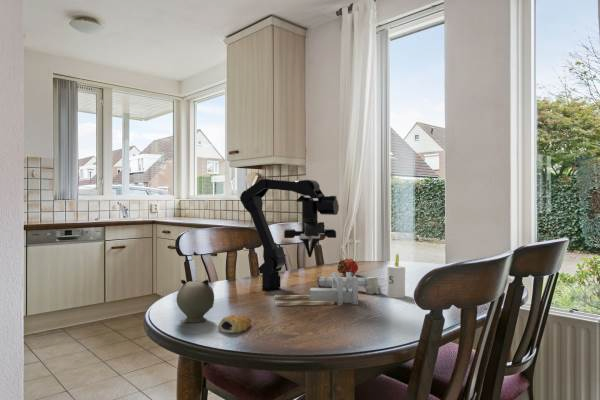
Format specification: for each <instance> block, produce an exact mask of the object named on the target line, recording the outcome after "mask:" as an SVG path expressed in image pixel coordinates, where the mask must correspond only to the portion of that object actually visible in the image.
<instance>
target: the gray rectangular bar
mask: <svg viewBox="0 0 600 400" xmlns="http://www.w3.org/2000/svg"><path fill="white" fill-rule="evenodd" d="M309 295H310V298H309V301H334V303H337V288H332V287H328V288H327V287H310V289H309ZM343 303H347V304H348V303H351V304H352V289H348V288H346V287H345V288H343Z"/></svg>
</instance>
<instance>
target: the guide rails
mask: <svg viewBox="0 0 600 400" xmlns="http://www.w3.org/2000/svg"><path fill="white" fill-rule="evenodd" d="M273 297H274V300H292V299H293V300H294V299H296V300H297V299H298V300H299V299H310V294H295V295H294V294H287V295H285V294H284V295H278V294H277V295H274V296H273ZM274 305H275V307H283V306H284V307H285V306H287V307H288V306H289V307H290V306H326V305H328V306H330V305H335V302H334V301H310V300H309V301H308V300H305V301H303V300H302V301H301V300H300V301H275V302H274Z"/></svg>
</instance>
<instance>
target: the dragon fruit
mask: <svg viewBox="0 0 600 400" xmlns="http://www.w3.org/2000/svg"><path fill="white" fill-rule="evenodd" d="M337 265H338V266H337V272H338V274H342V275H343V276H342V277H346V272H352V273H353V274H354V275H355V276H356V273H357V272H358V270H359V266H358V263H357V261H356V260H354V259H353V258H346V259H342V260H340V261H339V262H338V264H337Z"/></svg>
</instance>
